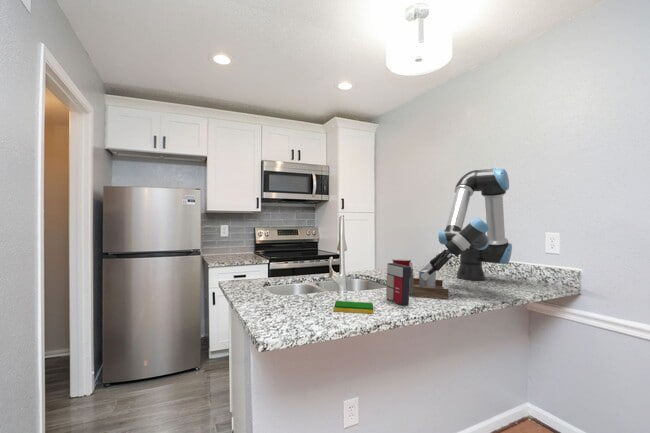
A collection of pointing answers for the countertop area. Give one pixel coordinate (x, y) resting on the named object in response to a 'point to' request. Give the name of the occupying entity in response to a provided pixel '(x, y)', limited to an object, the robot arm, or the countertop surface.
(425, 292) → the wooden tray
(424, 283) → the medicine box
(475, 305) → the countertop surface
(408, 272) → the grey and red box
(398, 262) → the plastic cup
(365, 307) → the dish sponge
